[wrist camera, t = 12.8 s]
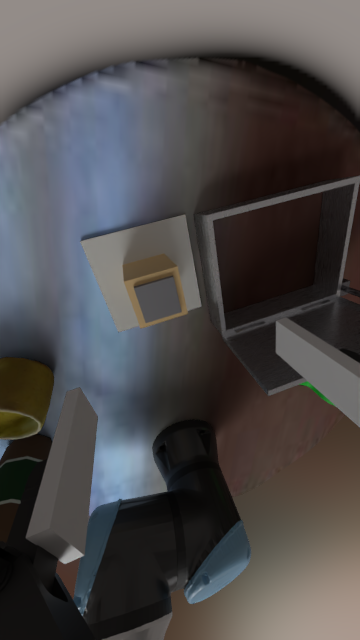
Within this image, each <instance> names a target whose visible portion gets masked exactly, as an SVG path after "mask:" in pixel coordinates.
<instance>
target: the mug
mask: <svg viewBox="0 0 360 640" xmlns="http://www.w3.org/2000/svg"><path fill="white" fill-rule="evenodd" d="M53 385H54V375H53V373H52V371H51V370H50V368H49V367H48V366H46V365H45V364H42V363H41V362H38V361H33V360H29V359H26V358H15V357H4V358H1V359H0V439H10V440H13V439H21V438H25V437H29V436H32V435H35V434H37V433H38V432H39V431H40V430H41V428H42V427H43V425H44V422H45V419H46V415H47V412H48V409H49V405H50V399H51V395H52V390H53Z"/></svg>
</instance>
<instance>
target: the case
mask: <svg viewBox="0 0 360 640" xmlns="http://www.w3.org/2000/svg"><path fill="white" fill-rule="evenodd" d="M359 183H360V176H353V177H346V178H339V179H332V180H326V181H322V182H318V183H315V184H311V185H307V186H303V187H299V188H295V189H291V190H287V191H283V192H279V193H276V194H272V195H268V196H264V197H260V198H256V199H252V200H248V201H244V202H241V203H237V204H233V205H229V206H225V207H221V208H217V209H213V210H209V211H205V212H202V213H198V214H194V221H195V227H196V234H197V240H198V246H199V252H200V258H201V265H202V271H203V277H204V283H205V290H206V296H207V302H208V308H209V314H210V321H211V322H212V324H213V325H214V326H215V327H216V329H217V330H218V331H219V332H220V333H221V335H222V336H223V340H224V342H225V343H226V344H227V345H228V347H229V348H230V349H231V350H232V352H233V353H234V354H235V355H236V357H237V358H238V359H239V360H240V361H241V363H242V364H243V365H244V366H245V368H246V369H247V370H248V371H249V373H250V374H251V375H252V376H253V378H254V379H255V380H256V381H257V383H258V384H259V385H260V386H261V388H262V389H263V390H264V391H265V393H266V394H267V395H268V396H270V395H272V394H275V393H278V392H280V391H283V390H285V389H288V388H291V387H293V386H296V385H299V384H301V383H304V382H306V381H307V380H306V379H305V378H304V377H302V376H301V375H300V374H299V373H298V372H297V371H296V370H295V369H293V368H292V367H291V366H290V365H289V364H288V363H287V362H286V361H284V360H283V359H282V358H281V357H280V356H279V355H278V354H277V353H276V321H277V320H280V319H283V318H288V319H289V320H291V321H293V322H294V323H296V324H297V325H299V326H301V327H302V328H304V329H305V330H307V331H309V332H310V333H312V334H314V335H315V336H317V337H318V338H320V339H322V340H323V341H325V342H326V343H328V344H330V345H331V346H333V347H334V348H336V349H338V350H340V349H342V348H344V349H347V350H350V351H353V352H356V353H357V354H359V355H360V304H357V303H354V302H352V301H349V300H347V299H344V298H342V297H340V296H343V295H346V294H348V293H349V294H352V295H355V296H358V297H360V291H359V290H356V289H353V288H350V287H349V284H350V280H346V279H343V274H344V268H345V263H346V257H347V251H348V245H349V240H350V234H351V228H352V223H353V217H354V211H355V206H356V200H357V194H358V188H359ZM319 192H323V197H322V207H321V216H320V226H319V235H318V245H317V254H316V264H315V273H314V282H313V285H312V286H308V287H305V288H302V289H299V290H296V291H293V292H290V293H287V294H284V295H280V296H277V297H274V298H271V299H268V300H265V301H262V302H259V303H255V304H252V305H249V306H246V307H243V308H240V309H237V310H234V311H230V312H227V313H224V310H223V301H222V293H221V285H220V277H219V269H218V260H217V252H216V244H215V236H214V228H213V220H216V219H220V218H224V217H228V216H231V215H235V214H239V213H243V212H247V211H250V210H254V209H258V208H262V207H266V206H269V205H273V204H277V203H281V202H285V201H288V200H292V199H296V198H300V197H304V196H307V195H311V194H315V193H319Z"/></svg>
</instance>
